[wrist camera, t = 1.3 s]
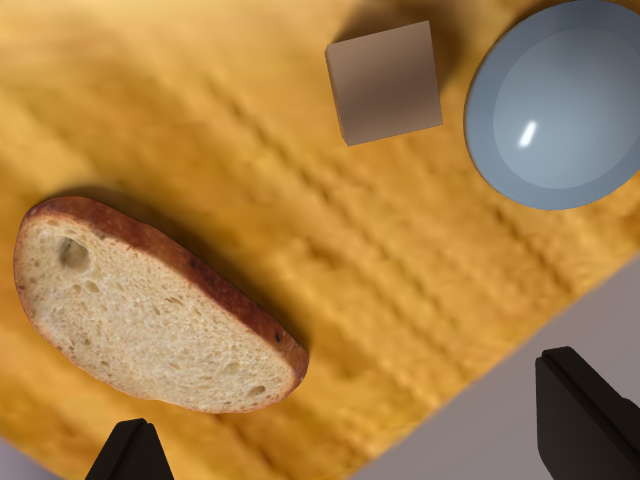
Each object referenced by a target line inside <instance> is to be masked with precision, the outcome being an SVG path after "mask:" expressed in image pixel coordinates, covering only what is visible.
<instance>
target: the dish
mask: <svg viewBox="0 0 640 480" xmlns="http://www.w3.org/2000/svg"><path fill="white" fill-rule="evenodd" d="M463 128H464V137H465V143H466V147H467V150H468V153H469V156H470V158H471V160H472V162H473V164H474V166H475V168H476V170H477V171H478V172H479V174H480V175H481V177H482V178H483V179H484V180H485V181H486V182H487V183H488V184H489V185H490V186H491V187H492V188H494V189H495V190H496V191H497V192H499V193H501V194H502V195H504V196H506V197H508V198H509V199H511V200H513V201H515V202H517V203H520V204H522V205H525V206H528V207H532V208H536V209H543V210H564V209H570V208H576V207H579V206H583V205H587V204H589V203H592V202H594V201H596V200H599V199H601V198H603V197H604V196H606V195H608V194H610V193H612V192H613V191H615V190H616V189H617V188H619V187H620V186H622V185H623V184H624V183H625V182H626V181H628V180H629V179H630V178H631V177H632V176H633V175H634V174H635V173H636V172H637V171H638V170H639V169H640V16H639V15H638V14H636V13H635V12H634V11H632V10H630V9H628V8H626V7H624V6H622V5H619V4H615V3H612V2H608V1H601V0H577V1H571V2H565V3H562V4H559V5H556V6H552V7H550V8H547V9H544V10H541V11H539V12H537V13H534V14H532V15H530V16H528V17H526V18H525V19H523V20H521V21H520V22H518V23H517V24H515V25H514V26H513V27H511V28H510V29H509V30H508V31H506V32H505V33H504V34H503V35H502V36H501V37H500V38H499V39H498V40H497V41H496V42H495V43H494V44H493V45H492V47H491V48H490V49H489V51H488V52H487V53H486V54H485V56H484V57H483V59H482V61H481V62H480V64H479V66H478V67H477V69H476V71H475V74H474V76H473V78H472V80H471V83H470V86H469V89H468V92H467V95H466V101H465V106H464V116H463Z"/></svg>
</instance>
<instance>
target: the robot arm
mask: <svg viewBox="0 0 640 480" xmlns="http://www.w3.org/2000/svg"><path fill="white" fill-rule="evenodd" d="M535 367H536V404H537V438H538V439H537V441H538V450H539V454H540V457H541V459H542V461H543V463H544V465H545V466H546V468H547V470H548V471H549V472H550V474H551V476H552V477H553V479H554V480H640V408H639V407H638V406H637V405H636V404H634V403H633V402H632V401H630V400H629V399H626V398H622V397H621V396H620V395H619V394H618V393H617V392H616V391H615V390H614V389H613V388H612V387H611V386H610V385H609V384H608V383H607V382H606V381H605V380H604V379H603V378H602V377H601V376H600V375H599V374H598V373H597V372H596V371H595V370H594V369H593V368H592V367H591V366H590V365H589V364H588V363H587V362H586V361H585V360H584V359H583V358H581V356H580V355H579V354H578V353H576V351H575V350H574V349H572V348H571V347H568V346H566V347H560V348H554V349H548V350H544V351H543V352H542V357H539V358H537V359H536V362H535ZM85 480H174V478H173V475H172V472H171V470H170V467H169V464H168V462H167V459H166V456H165V454H164V451H163V448H162V446H161V443H160V440H159V438H158V435H157V432H156V430H155V427H154V425H153V424H152V423H147V422H146V420H145V419H143V418H139V419H134V420H128V421H122V422H119V423H117V424H116V426H115V427H114V429H113V431H112V432H111V434H110V436H109V438H108V439H107V441H106V443H105V445H104V446H103V448H102V450H101V452H100V453H99V455H98V457H97V459H96V461H95V462H94V464H93V466H92V468H91V469H90V471H89V473H88V475H87V476H86V478H85Z"/></svg>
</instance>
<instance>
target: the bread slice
mask: <svg viewBox="0 0 640 480" xmlns="http://www.w3.org/2000/svg"><path fill="white" fill-rule="evenodd" d="M13 266H14V280H15V286H16V289H17V292H18V295H19V298H20V301H21V304H22V307H23V309H24V312H25V313H26V315H27V317H28V319H29V321H30V323H31V324H32V326H33V327H34V328H35V330H36V331H37V332H38V333H39V334H40V335H41V336H42V337H44V338H45V339H46V340H47V341H48V342H49V343H50V344H51V345H53V346H54V347H55V348H56V349H57V350H58V351H59V352H60V353H61V354H63V355H64V356H65V357H66V358H67V359H68V360H70V361H71V362H72V363H73V364H74V365H75V366H76V367H78V368H80V369H82V370H84V371H85V372H87V373H88V374H90V375H91V376H92V377H93V378H94V379H97V380H99V381H101V382H104V383H107V384H108V385H110V386H111V387H113V388H115V389H116V390H119V391H121V392H124V393H126V394H128V395H130V396H133V397H136V398H139V399H143V400H162V401H165V402H168V403H171V404H176V405H179V406H181V407H184V408H186V409H188V410H194V411H199V412H208V413H214V414H217V413H248V412H252V411H255V410H259V409H262V408H265V407H268V406H270V405H273V404H275V403H277V402H280V401H282V400H284V399H285V398H286V397H287V396H288V395H289V394H290V393H291V392H292V391H293V390H295V389H296V388H297V387H298V386H299V384H300V383H301V382H302V380H303V379H304V377H305V375H306V371H307V367H308V363H309V358H308V355H307V353H306V352H305V350H304V348H303V347H302V346H301V345H300V344H298V343H297V342H296V341H295V340H294V338H293V337H292V336H291V335H290V334H289V333H288V332H287V331H286V330H285V329H284V328H283V327H282V326H281V324H280V323H279V322H278V321H277V320H276V319H275V318H274V317H272V316H271V315H269V314H268V313H267V312H266V311H264V310H263V309H262V308H261V307H260V306H259V305H258V304H257V303H256V302H254V301H252V300H250V299H249V298H248V297H246V296H245V295H244V294H243V293H242V292H241V291H239V290H238V289H237V288H236V287H234V286H233V285H231V284H230V283H229V282H228V281H226V280H225V279H224V278H223V277H222V276H221V275H219V274H218V273H217V272H216V271H214V270H213V269H212V268H211V267H209V266H208V265H207V264H205V263H204V262H203V261H202V260H200V259H199V258H198V257H196V256H195V255H194V254H192V253H191V252H190V251H188V250H187V249H185V248H184V247H182V246H181V245H179V244H178V243H176V242H175V241H173V240H172V239H170V238H169V237H168V236H167V235H165V234H164V233H162V232H161V231H159V230H157V229H156V228H154V227H152V226H150V225H148V224H146V223H142V222H139V221H136V220H134V219H132V218H130V217H128V216H126V215H125V214H123V213H121V212H119V211H117V210H115V209H113V208H111V207H109V206H107V205H105V204H103V203H100V202H98V201H95V200H93V199H89V198H86V197H76V196H66V197H58V198H52V199H49V200H47V201H45V202H43V203H41V204H38V205H37V206H35V207H33V208H31V209H30V210H29V211H28V212H27V213H26V214H25V216H24V217H23V220H22V222H21V225H20V229H19V233H18V237H17V241H16V245H15V250H14V258H13Z"/></svg>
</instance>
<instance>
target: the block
mask: <svg viewBox="0 0 640 480" xmlns="http://www.w3.org/2000/svg"><path fill="white" fill-rule="evenodd" d="M325 58H326V63H327V67H328V72H329V77H330V82H331V87H332V92H333V96H334V101H335V106H336V111H337V116H338V121H339V125H340V130H341V135H342V138H343V140H344V141H345V143H346V144H347V146H348V147H349V146H353V145H357V144H362V143H366V142H370V141H374V140H379V139H383V138H387V137H392V136H396V135H400V134H405V133H409V132H413V131H417V130H422V129H426V128H430V127H435V126H439V125H443V121H442V113H441V106H440V98H439V91H438V84H437V76H436V69H435V61H434V54H433V46H432V39H431V31H430V24H429V20H427V21H423V22H419V23H415V24H411V25H407V26H403V27H399V28H395V29H391V30H387V31H382V32H378V33H374V34H370V35H366V36H362V37H358V38H354V39H350V40H346V41H342V42H338V43H333V44H329V45H327V48H326V50H325Z"/></svg>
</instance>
